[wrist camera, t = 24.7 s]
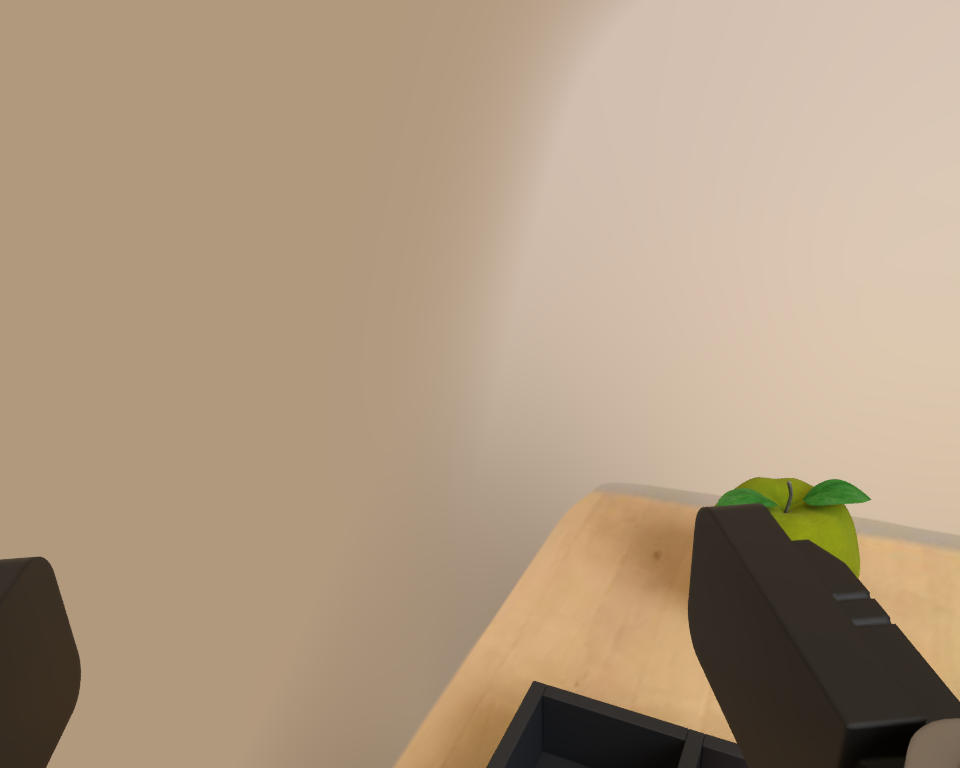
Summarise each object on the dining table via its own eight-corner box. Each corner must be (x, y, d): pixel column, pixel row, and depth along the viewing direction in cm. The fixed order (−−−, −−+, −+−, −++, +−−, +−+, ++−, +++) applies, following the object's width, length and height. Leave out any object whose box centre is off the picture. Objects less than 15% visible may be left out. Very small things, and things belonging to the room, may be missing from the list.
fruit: (867, 662, 50) (896, 524, 46) (711, 654, 51) (725, 519, 47) (825, 570, 58) (846, 446, 54) (692, 565, 59) (703, 443, 55)
